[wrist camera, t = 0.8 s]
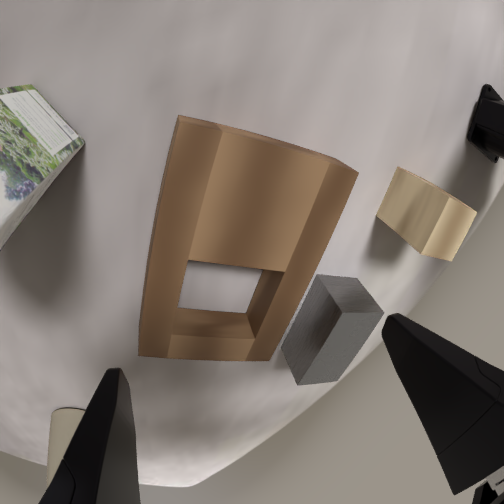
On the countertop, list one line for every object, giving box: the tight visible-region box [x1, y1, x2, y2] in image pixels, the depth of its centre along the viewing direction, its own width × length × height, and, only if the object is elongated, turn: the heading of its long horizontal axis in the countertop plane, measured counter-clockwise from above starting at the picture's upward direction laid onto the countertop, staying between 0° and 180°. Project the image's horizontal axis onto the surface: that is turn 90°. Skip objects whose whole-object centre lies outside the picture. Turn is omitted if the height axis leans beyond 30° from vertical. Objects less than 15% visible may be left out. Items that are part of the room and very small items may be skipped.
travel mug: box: [47, 408, 85, 488], centre depth 23 cm, size 8×8×18 cm
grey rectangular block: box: [281, 274, 384, 386], centre depth 27 cm, size 4×9×5 cm, turn 163°
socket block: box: [138, 115, 359, 361], centre depth 21 cm, size 11×17×3 cm, turn 162°
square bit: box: [376, 167, 477, 261], centre depth 22 cm, size 4×4×6 cm
